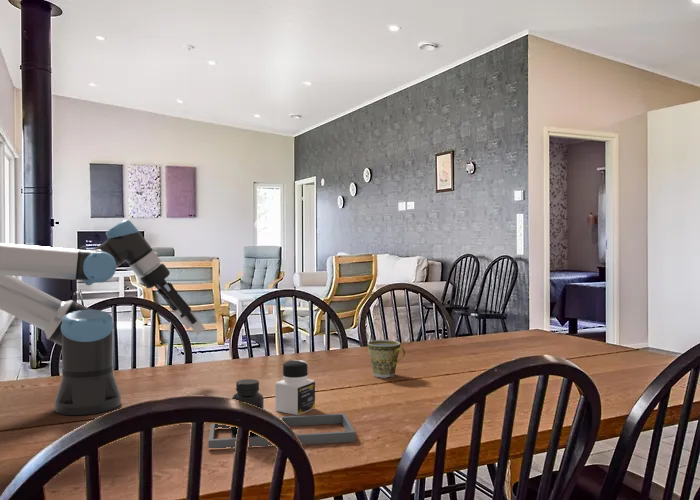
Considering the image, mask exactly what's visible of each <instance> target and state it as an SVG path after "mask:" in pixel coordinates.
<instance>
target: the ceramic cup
mask: <svg viewBox="0 0 700 500" xmlns="http://www.w3.org/2000/svg"><path fill="white" fill-rule="evenodd" d="M367 350H368V354H369V358H370V363H371V370H372V375H373V377H374V376H375V377H376V378H379V377H380V378H379V379H388V378H387V377H391V378H393V377H392V376H394V377H395V374H396V369H397V364H398V362H400V361H401V360H402V359H403V358H404V357H405V355H406V351H405V349H404V348H403V347H401V342H399V341H397V340H390V339H376V340H370V341H368V342H367ZM400 351H402V354H403V355H402V356H401V357H399V353H400ZM375 377H374V378H375Z"/></svg>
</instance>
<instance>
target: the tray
mask: <svg viewBox="0 0 700 500" xmlns="http://www.w3.org/2000/svg"><path fill="white" fill-rule="evenodd" d="M346 414H347V413H345V412H344V413H327V414H325V413H324V414H310V415H309V414H307V415H288V416H277V417H278V418H280V419H281V420H282V421H284V422H285V423H286V424H287V425H288V426H287V427H298V426H316V425H317V426H318V425H335V424H342V425H343V428H344V430H345V431H332V432H331V431H330V432H314V433H311V432H310V433H309V432H308V433H299V434H298V433H296V434H295V435H296V436H297V437H298V439H299V440H300V442H301V443H302V445H301V446H304V445H320V444H321V445H322V444H337V443H339V444H340V443H354V442H355V443H356V439H357V438H356V433H357V431H355V428H354V427H353V425H352V423H351V421H350V420H349V418H348V417H347V415H346ZM218 427H222V428H229V427H230V426H226V425H218V424H211V423H210V428H209V435H208V440H207V441H208V444H207V445H208V446H207V447H208V448H226V447H231V448H233V447H235V441H236V438H232V437H227V438H226V437H225V438H215V436H214V433H215V434H216V430H215V428H218ZM268 445H270V446H271V445H272V444H271V443H270V442H268V441H267V440H266V439H264V438H262V437H260V436H258V437H249V447H252V446H268ZM272 446H273V445H272ZM249 447H248V448H247V449H250V448H249ZM274 447H276V446H274ZM208 448H207V449H208Z"/></svg>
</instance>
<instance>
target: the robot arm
mask: <svg viewBox="0 0 700 500" xmlns="http://www.w3.org/2000/svg"><path fill="white" fill-rule="evenodd" d="M105 235H106V240H105V241H104V242H103V243H101V244H100V245H99V244H98V246H96V247H95V248H93V249H92V250H91V249H90V250H89V249H79V248H78V249H75V248H66V247H64V248H63V247H51V246H41V245H30V244H28V245H27V244H17V243H16V244H15V243H5V242H4V243H3V242H0V310H1V311H3V312H5V313H7V314H10V315H11V316H14V317H16V318H18V319H19V320H22V321H24V322H25V323H27V324H30V325H31V326H34V327H36V328H38V329H40V330H43V331H44V333H45V337H46V339H47V340H48V341H51V342H53V343H55V344H57V345H59V346H61V369H62V371H61V372H62V374H61V375H62V376H61V381H60V384H59V387H58V390H57V393H56V397H55V400H54V411H55V413H57V414H60V415H65V416H66V415H67V416H85V415H86V416H88V415H94V414H99V413H105V412H108V411H111V410H114V409H116V408H117V407H119V406H121V403H122V395H121V391H120V388H119V386H118V384H117V380H116V378H115V377H116V376H115V375H114V335H113V334H114V333H113V332H114V325H115V324H114V322H113V316H112V314H110V313H109V311H108V312H107V311H103V310H100V309H93V308H89V307H87V306H85V305H83V304H81V303H79V302H77V301H75V300H73V299H70V300H66V301H62V300H60V299H59V298H56V297H55V296H52V295H51V294H48V293H46V292H44V291H42V290H40V289H39V288H37V287H35V286H33V285H31V284H29V283H27V282H25V281H23V280H21V279H19V278H18V277H27V278H28V277H29V278H30V277H31V278H43V279H46V278H47V279H62V280H80V281H82V282H83V283H84V284H85V285H86V286H91V285H93V284H95V283H105V282H107V281H109V280H111V279H112V278H113V277H114V275H115V273H116V271H117V268H118V267H119V266H120V265H123V264H124V263H125V262H126V263H127V264H128V265H129V267H130V269H131V270H132V271H133V272H134V274H135V275H136V276H137V277H138V278H140V281H141V282H142V284H143V285H144V286H145V288H146V289H152V288H153V287H155V289H157V290H156V292H157V293H158V294H159V295H160V296H161V297H162V298H163V299H164V301H165V302H166V303H167V305H168V306H169V308H170V309H171V310H172V311H174V313H175V315H176V316H177V317H178V319H179V320H180V321H181V322H182V324H183V325H184V327H185V328H186V329H187V330H189V329H190V328H191V329H192V330H193V332H194V333H195V334H196V335H197V336H199V334H201V333H202V332H203V331H205V330H206V327H205V326H204V325H203V324H202V322H201V321H200V320H199V319H198V317H197V316H196V314H194V312H193V310H192V308H191V307H190V306H189V304H188V303H187V302H186V301H185V300H184V299H183V297H182V296H181V295H180V294H179V292H178V291H177V290H176V289H175V288H174V286H173V284H172V283H171V282H169V281H168V282H167V281H166V278H168V277H169V275H170V274H171V272H170V270H169V269H168V268H167V266H166V265H165V264H164V263H161V262H162V260H161V258H159V256H158V255H159V253H158V251H154V250H153V248H152V247H151V246H150V244H149V243H148V241H147V240H146V239H145V237H144V236H143V234H142V233H141V232H140V231H139V229H138V228H137V227H136V226H135V225H134V223H133V222H132V221H131V220H129V219H124V220H122V221H120V222H118V223H117V224H116V225H114V226H112V227H111V228H109V229H108V230H106V232H105Z"/></svg>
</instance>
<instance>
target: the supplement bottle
mask: <svg viewBox="0 0 700 500" xmlns="http://www.w3.org/2000/svg"><path fill="white" fill-rule="evenodd" d="M235 386H236V387H235V391H236V392H235V393H234V394H233V396H232V397H231V399H236V400H239V401H242V402H246V403H249V404H252V405H255V406H257V407H260V408H262V409H264V396H263V395H262V393H260V392H259V391H260V382H259V380H258V379H252V378H247V379H246V378H243V379H239V380H237V381H236V384H235ZM237 429H238V428H236V427H231V429H230V438H236V434H237ZM249 437H258V435H256V434H254V433H252V432H250V436H249Z"/></svg>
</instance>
